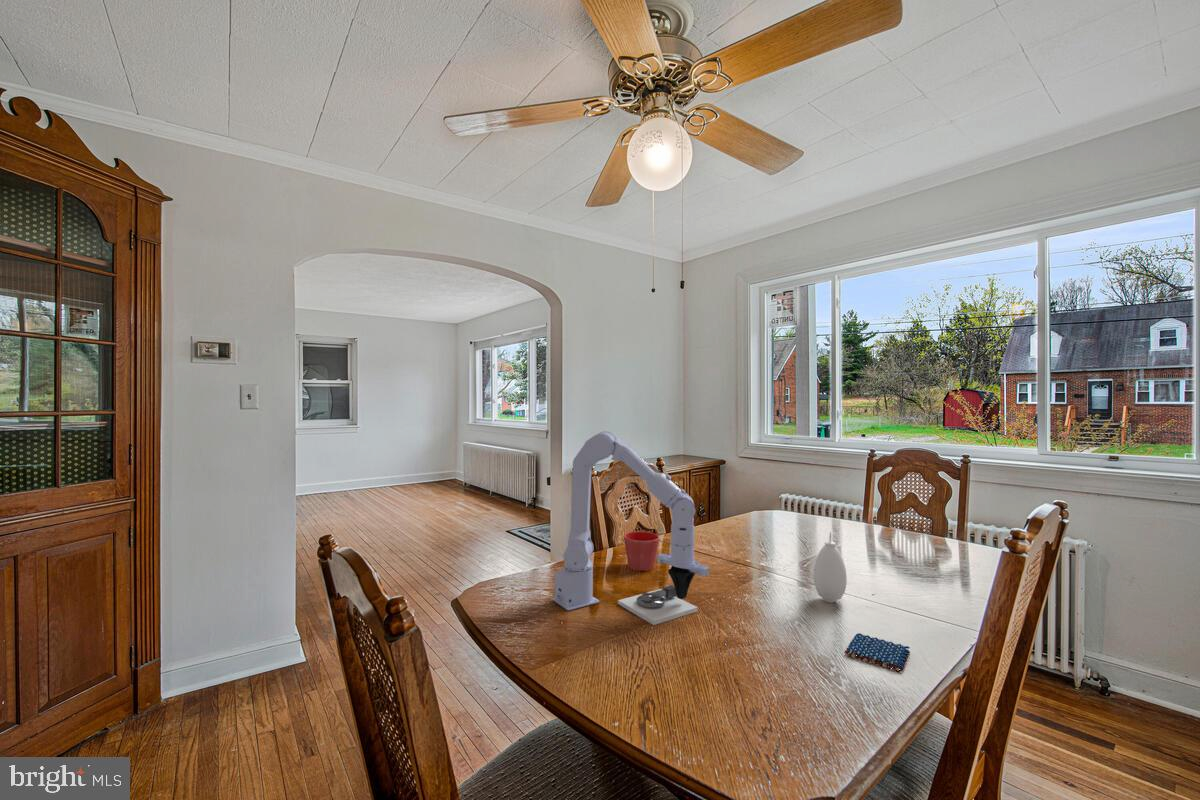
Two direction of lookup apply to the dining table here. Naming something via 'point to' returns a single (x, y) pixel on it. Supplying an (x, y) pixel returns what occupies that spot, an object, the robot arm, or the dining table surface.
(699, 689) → the dining table surface
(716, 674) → the dining table surface
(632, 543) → the flower pot
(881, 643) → the woven mat
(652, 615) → the stand plate
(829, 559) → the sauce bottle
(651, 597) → the crank handle
